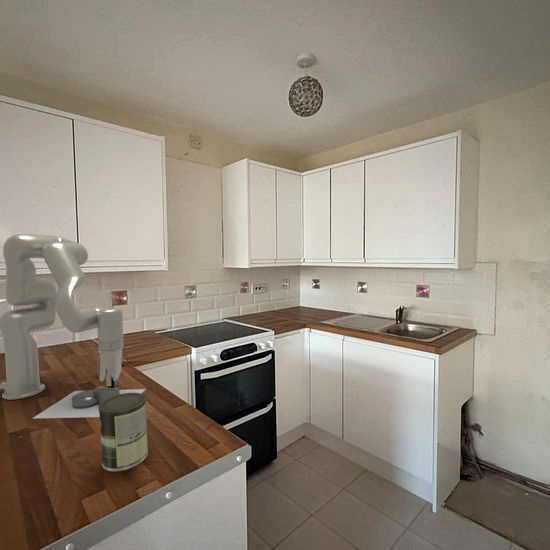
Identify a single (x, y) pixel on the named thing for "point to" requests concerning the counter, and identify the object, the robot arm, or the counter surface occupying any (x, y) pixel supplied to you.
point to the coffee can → (123, 431)
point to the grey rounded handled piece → (94, 396)
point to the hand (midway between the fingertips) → (113, 397)
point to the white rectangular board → (68, 411)
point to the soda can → (98, 364)
